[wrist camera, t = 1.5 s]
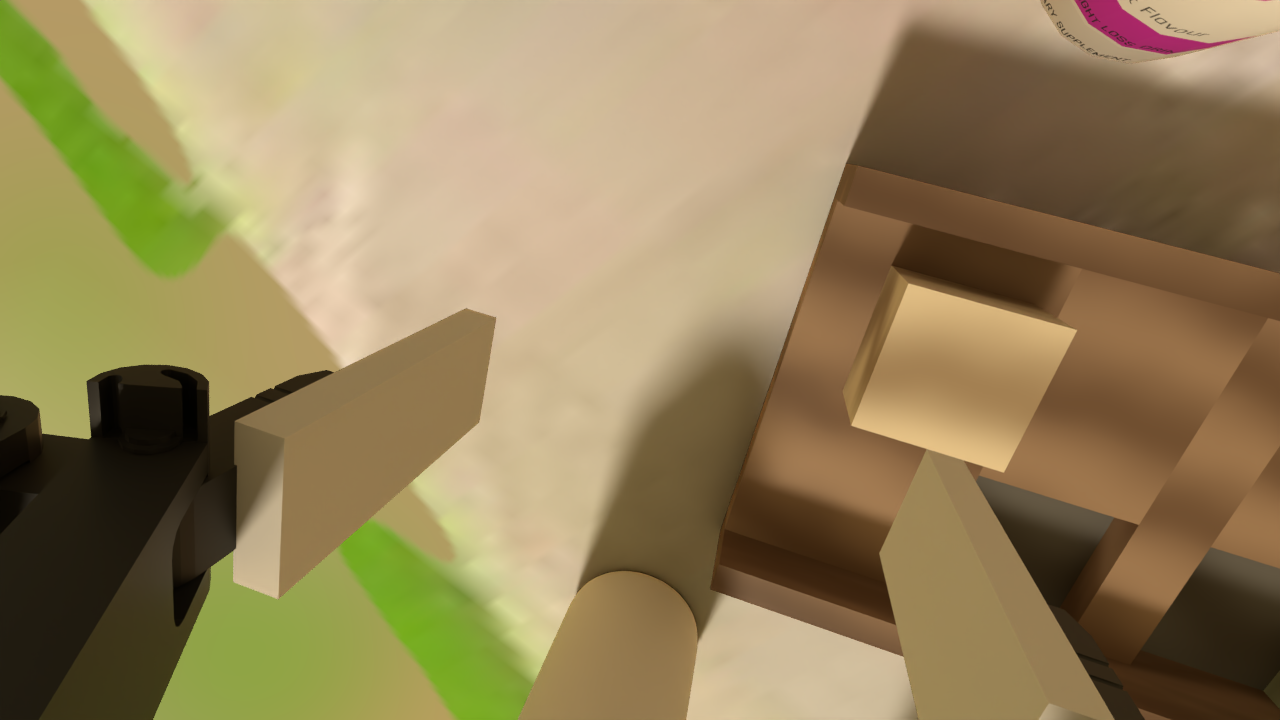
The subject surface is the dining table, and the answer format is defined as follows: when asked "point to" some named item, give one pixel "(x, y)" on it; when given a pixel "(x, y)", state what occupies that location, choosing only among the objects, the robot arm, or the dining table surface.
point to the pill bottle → (618, 654)
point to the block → (953, 368)
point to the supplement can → (1159, 25)
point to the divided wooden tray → (1044, 445)
